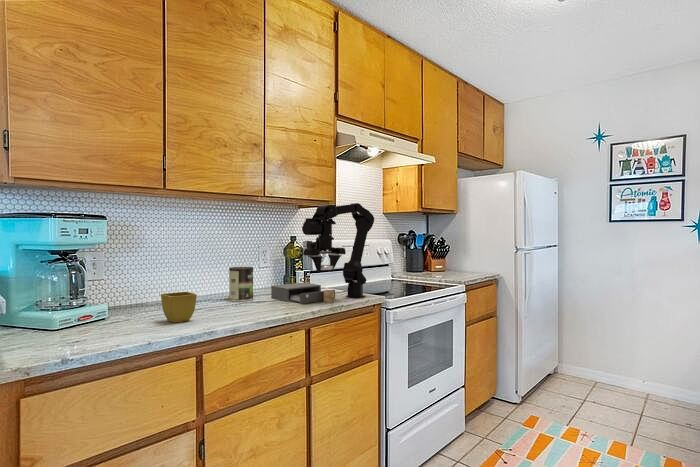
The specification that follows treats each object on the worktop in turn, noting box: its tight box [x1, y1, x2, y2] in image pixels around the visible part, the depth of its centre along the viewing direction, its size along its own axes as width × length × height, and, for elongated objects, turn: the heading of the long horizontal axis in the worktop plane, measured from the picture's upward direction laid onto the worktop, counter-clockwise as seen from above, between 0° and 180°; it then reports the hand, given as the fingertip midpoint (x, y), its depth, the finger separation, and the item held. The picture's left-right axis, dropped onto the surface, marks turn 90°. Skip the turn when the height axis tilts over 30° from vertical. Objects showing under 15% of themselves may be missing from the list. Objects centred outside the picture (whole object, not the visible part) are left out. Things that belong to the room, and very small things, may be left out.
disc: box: [320, 264, 334, 271], centre depth 168 cm, size 7×7×2 cm
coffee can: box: [228, 266, 254, 303], centre depth 174 cm, size 10×10×14 cm
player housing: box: [270, 282, 322, 303], centre depth 179 cm, size 18×14×6 cm
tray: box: [289, 289, 336, 305], centre depth 172 cm, size 18×13×4 cm
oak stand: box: [323, 289, 335, 304], centre depth 167 cm, size 4×4×5 cm
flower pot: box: [160, 291, 198, 324], centre depth 132 cm, size 9×9×9 cm
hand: (325, 272), depth 168 cm, fingers closed on disc, 7 cm apart
